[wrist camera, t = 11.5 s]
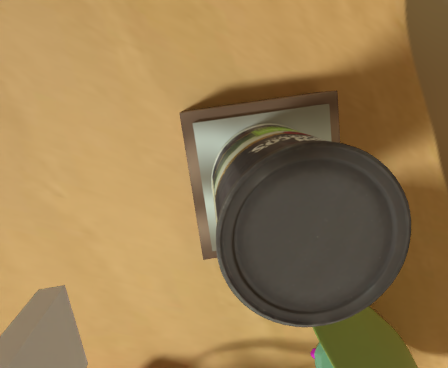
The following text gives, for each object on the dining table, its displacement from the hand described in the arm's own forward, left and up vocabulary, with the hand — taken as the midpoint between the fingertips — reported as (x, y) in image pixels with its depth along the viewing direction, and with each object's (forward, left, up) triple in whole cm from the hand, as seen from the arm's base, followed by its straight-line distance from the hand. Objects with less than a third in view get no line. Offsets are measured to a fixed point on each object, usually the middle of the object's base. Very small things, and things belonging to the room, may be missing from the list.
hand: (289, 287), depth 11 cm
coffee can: (+2, +3, -22) cm, 22 cm away
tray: (+2, +3, -26) cm, 27 cm away
